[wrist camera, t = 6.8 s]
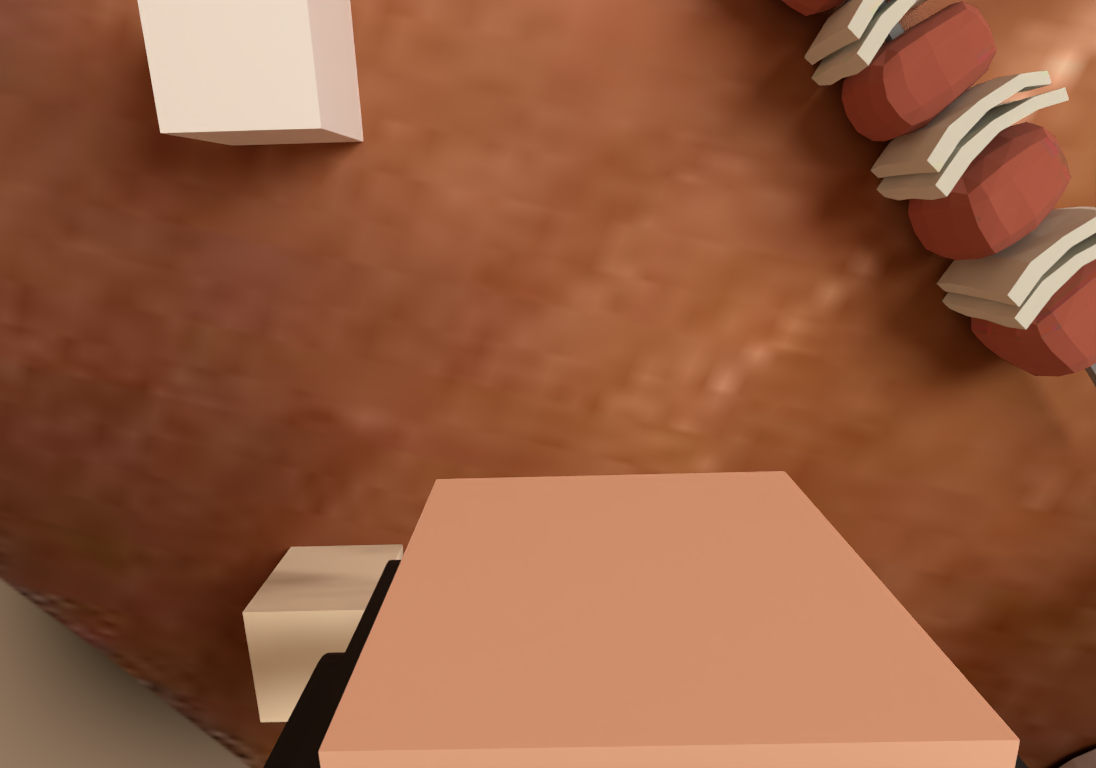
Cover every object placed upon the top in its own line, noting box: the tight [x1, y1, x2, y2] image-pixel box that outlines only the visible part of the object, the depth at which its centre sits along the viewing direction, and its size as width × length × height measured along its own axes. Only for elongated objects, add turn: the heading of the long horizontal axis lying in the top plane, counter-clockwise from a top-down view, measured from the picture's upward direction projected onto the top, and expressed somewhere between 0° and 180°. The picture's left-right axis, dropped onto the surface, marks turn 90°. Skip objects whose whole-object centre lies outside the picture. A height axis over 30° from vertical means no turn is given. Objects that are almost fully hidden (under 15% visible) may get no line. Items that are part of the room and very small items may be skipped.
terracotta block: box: [318, 471, 1020, 768], centre depth 8 cm, size 5×5×5 cm
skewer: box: [781, 0, 1096, 386], centre depth 24 cm, size 5×5×30 cm
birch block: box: [242, 544, 403, 722], centre depth 28 cm, size 5×5×5 cm
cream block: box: [138, 0, 363, 146], centre depth 22 cm, size 5×5×5 cm
